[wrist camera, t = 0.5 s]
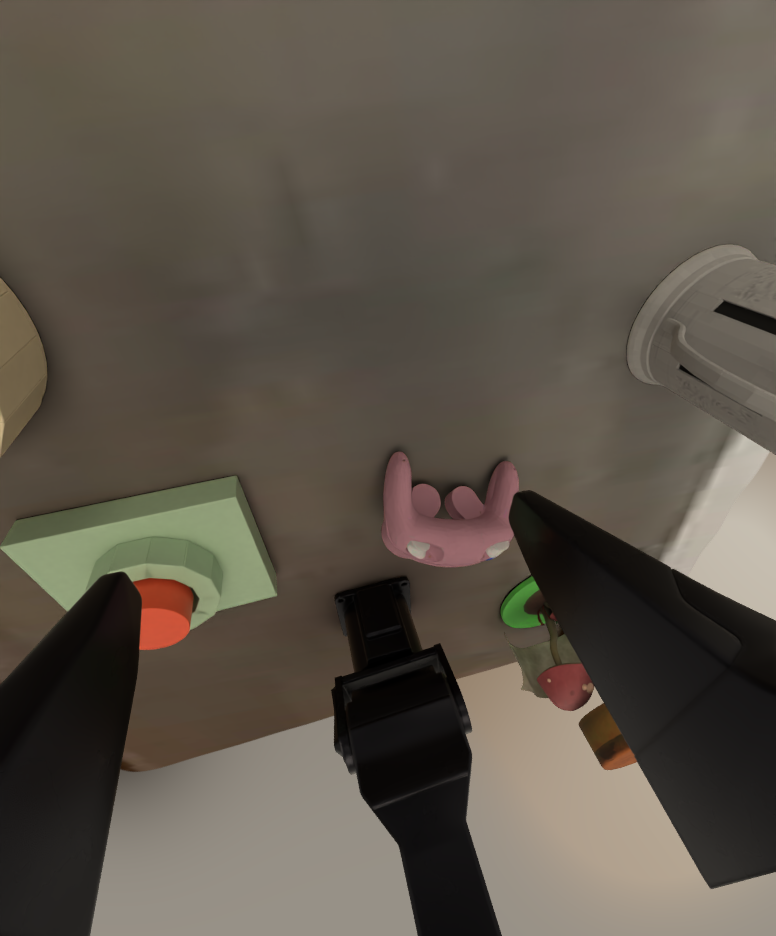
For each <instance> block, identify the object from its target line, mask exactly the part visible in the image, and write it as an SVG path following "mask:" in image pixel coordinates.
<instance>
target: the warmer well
mask: <svg viewBox="0 0 776 936" xmlns="http://www.w3.org/2000/svg"><path fill="white" fill-rule="evenodd" d="M46 383H47V362H46V357H45V353H44V349H43V345H42V342H41V340H40V337H39V335H38V332H37V330H36V328H35V326H34V324H33V322H32V320H31V318H30V317H29V315H28V313H27V311H26V310H25V308H24V307H23V305H22V304H21V303H20V301H19V300H18V298H17V297H16V296H15V294H14V293H13V292H12V290H11V289H10V288H9V287H8V286H7V285H6V284H5V282H4V281H3V280H2V279H1V278H0V458H1V457H2V455H3V454H4V453H5V451H6V450H7V449H8V448H9V446H10V445H11V444H12V442H13V441H14V440H15V438H16V437H17V436H18V435H19V433H20V432H21V431H22V429H23V428H24V427H25V425H26V424H27V423H28V422H29V420H30V419H31V418H32V416H33V415H34V414H35V413H36V411H37V410H38V409H39V407H40V405H41V402H42V399H43V396H44V393H45V390H46Z"/></svg>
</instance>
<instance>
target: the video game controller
mask: <svg viewBox="0 0 776 936" xmlns="http://www.w3.org/2000/svg"><path fill="white" fill-rule="evenodd" d="M518 491H519V478H518V474H517V471H516V469H515V467H514V465H513V464H512V463H511V462H509V461H503V462H500V464H499V465H498V466H497V467H496V469H495V470H494V472H493V474H492V477H491V479H490V482H489V486H488V490H487V494H486V499H485V504H484V505H483V504H482V503H481V501H480V500H479V498H478V497H477V495H476V494H475V492H474V491H473V490H472V489H470V488H469V487H466V486H460V487H457V488H455V489H454V490H453V491H451V492H450V493H449V494H448V495H447V496H446V498H445V507H446V510H447V512H448V513H449V515H450V516H451V517H452V519H440V518H434V516H435V515H436V514H437V513H438V511H439V509H440V505H441V500H440V496H439V493H438V492H437V491H436V489H434V488H433V487H431V486H430V485H427V484H418V485H416V486H415V487H413V488H411V468H410V464H409V461H408V459H407V456H406V455H405V454H404V453H403V452H400V451H399V452H395V453H394V454H393V455H392V457H391V458H390V460H389V463H388V465H387V469H386V474H385V480H384V491H383V505H384V521H383V524H382V528H381V533H382V539H383V542H384V544H385V546H386V547H387V548H388V549H389V550H390V551H391V552H392V553H393V554H395V555H397V556H399V557H401V558H409V559H413V560H415V561H417V562H420V563H424V564H427V565H431V566H438V567H463V566H469V565H474V564H477V563H480V562H482V561H485V560H491V559H493V558H495V557H497V556H498V555H500V554H501V553H502V552H503V551H504V550H506V549H508V547H509V543H510V541H511V540H512V538H513V536H514V533H513V531H512V529H511V526H510V524H509V519H508V516H509V511H510V507H511V503H512V499H513V495H514V494H515V493H517V492H518Z"/></svg>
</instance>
